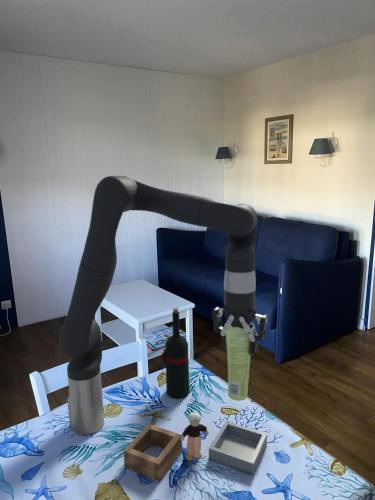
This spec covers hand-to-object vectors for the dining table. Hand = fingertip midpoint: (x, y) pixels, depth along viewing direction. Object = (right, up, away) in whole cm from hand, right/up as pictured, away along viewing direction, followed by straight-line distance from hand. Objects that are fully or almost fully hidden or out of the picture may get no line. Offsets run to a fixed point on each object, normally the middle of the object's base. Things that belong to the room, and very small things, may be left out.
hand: (238, 350), depth 95 cm
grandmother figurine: (-11, -29, +5) cm, 32 cm away
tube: (0, -12, +3) cm, 13 cm away
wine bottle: (-17, -23, +34) cm, 45 cm away
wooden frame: (-22, -29, +4) cm, 37 cm away
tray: (+1, -29, +6) cm, 29 cm away
